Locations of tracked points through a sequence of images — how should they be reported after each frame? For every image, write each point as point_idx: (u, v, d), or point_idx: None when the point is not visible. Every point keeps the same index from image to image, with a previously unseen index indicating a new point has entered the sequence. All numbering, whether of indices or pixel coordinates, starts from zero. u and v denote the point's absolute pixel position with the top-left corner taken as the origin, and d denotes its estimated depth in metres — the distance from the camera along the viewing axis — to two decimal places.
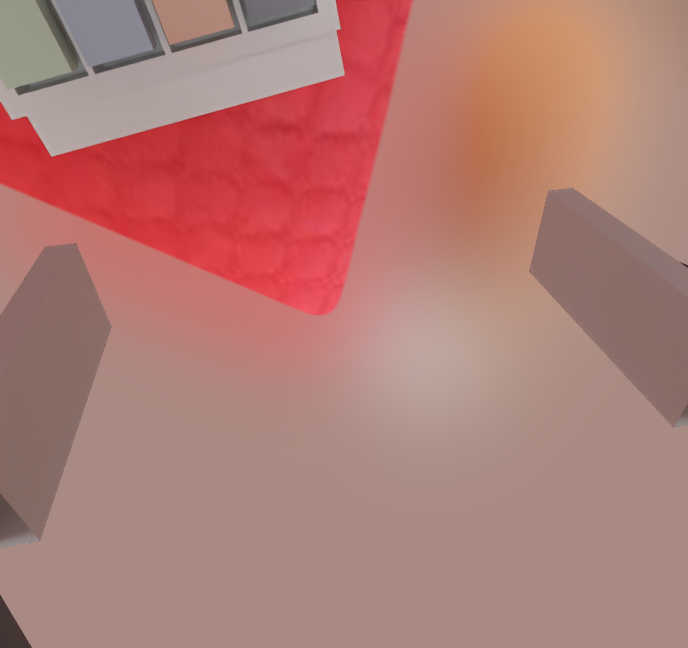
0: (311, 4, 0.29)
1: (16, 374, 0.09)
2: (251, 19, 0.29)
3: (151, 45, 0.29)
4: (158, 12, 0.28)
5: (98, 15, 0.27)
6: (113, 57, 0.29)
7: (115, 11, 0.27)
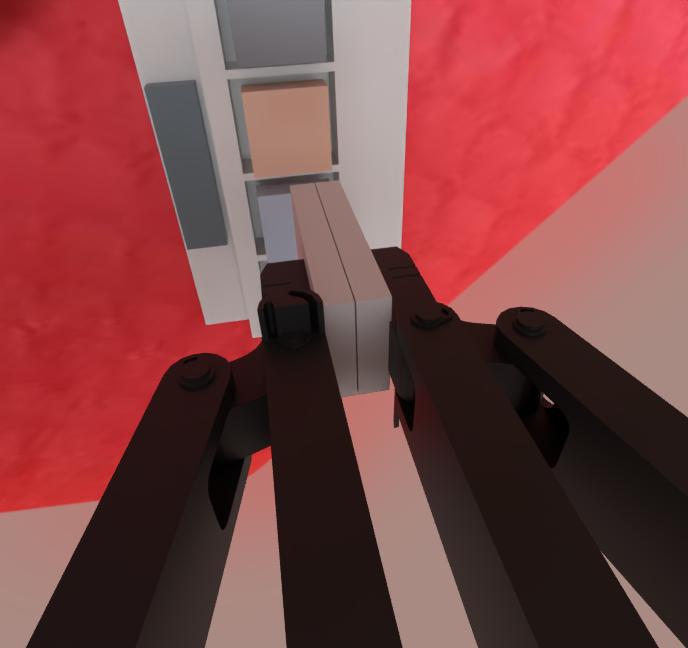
0: None
1: None
2: (323, 59, 0.22)
3: None
4: (300, 172, 0.25)
5: (294, 230, 0.27)
6: None
7: None
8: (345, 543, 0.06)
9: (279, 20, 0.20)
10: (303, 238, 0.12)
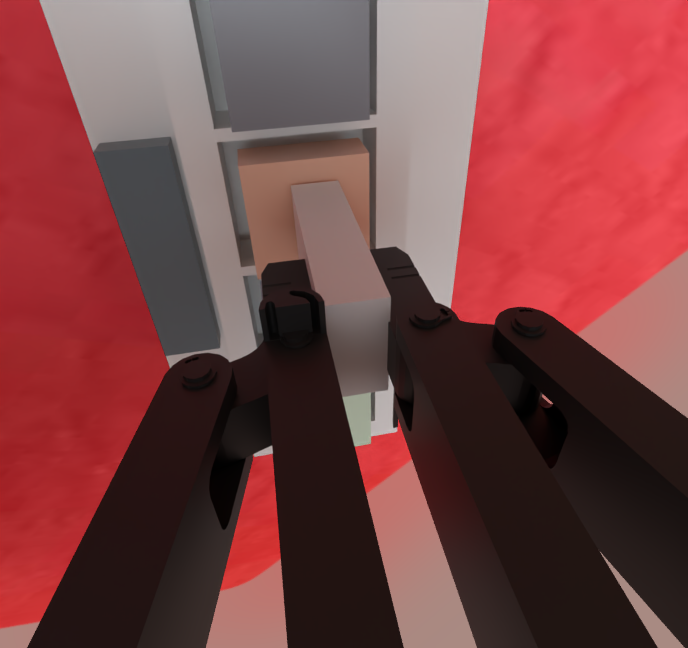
0: None
1: None
2: (364, 116, 0.14)
3: None
4: None
5: None
6: None
7: None
8: (347, 543, 0.06)
9: (298, 59, 0.13)
10: (304, 238, 0.12)
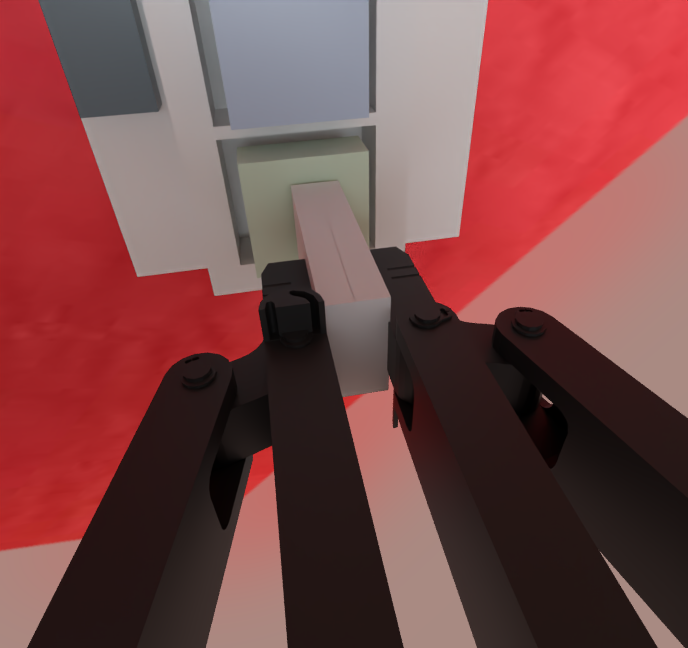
0: None
1: None
2: None
3: None
4: None
5: (285, 51, 0.13)
6: (363, 55, 0.13)
7: (282, 7, 0.12)
8: (348, 543, 0.06)
9: None
10: (304, 238, 0.12)
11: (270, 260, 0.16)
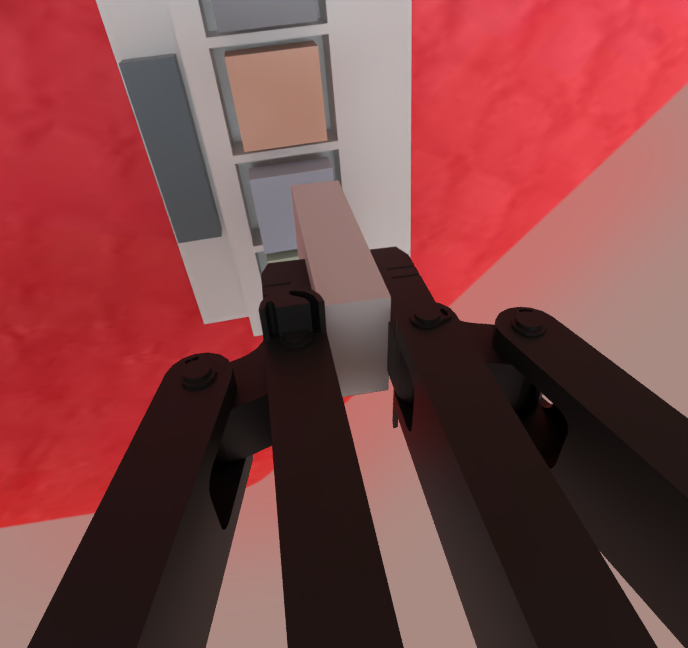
0: None
1: None
2: (314, 17, 0.19)
3: (327, 167, 0.23)
4: (293, 143, 0.23)
5: (292, 216, 0.24)
6: None
7: (290, 198, 0.23)
8: (347, 543, 0.06)
9: None
10: (304, 238, 0.12)
11: None
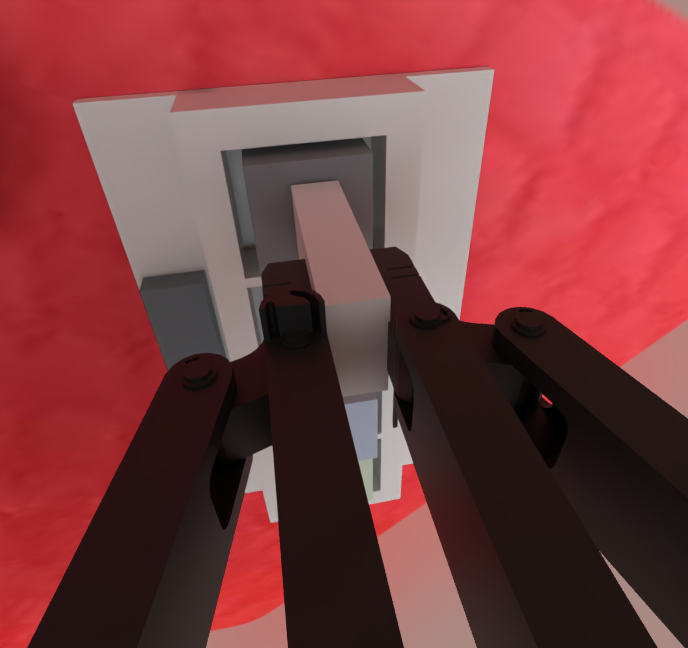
0: (370, 159, 0.15)
1: None
2: None
3: (372, 398, 0.20)
4: None
5: None
6: (374, 436, 0.22)
7: None
8: (347, 543, 0.06)
9: None
10: (304, 238, 0.12)
11: None
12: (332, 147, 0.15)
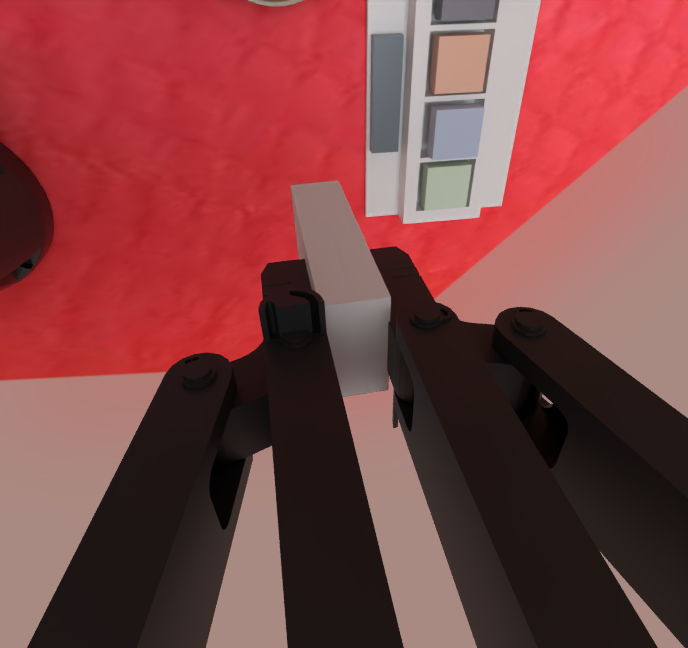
0: None
1: None
2: (491, 17, 0.36)
3: (481, 107, 0.39)
4: (462, 91, 0.39)
5: (454, 136, 0.40)
6: (478, 138, 0.40)
7: (456, 124, 0.39)
8: (347, 543, 0.06)
9: None
10: (304, 238, 0.12)
11: (430, 203, 0.44)
12: None
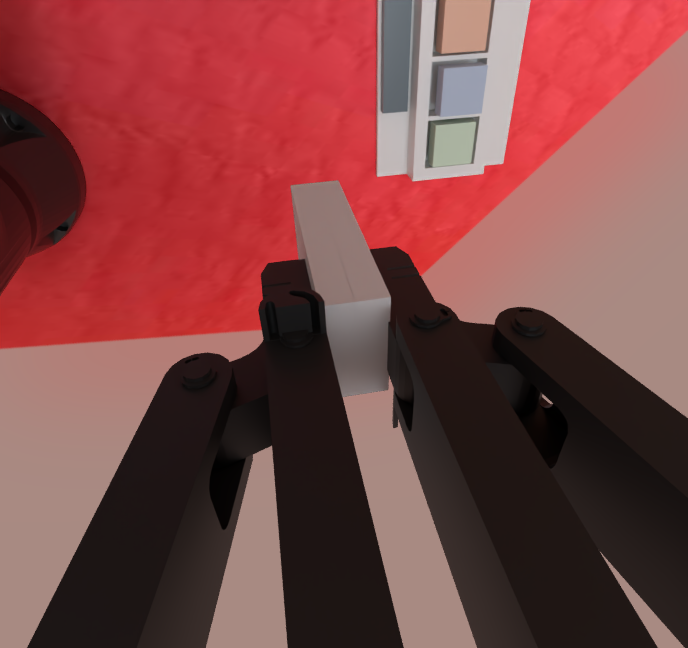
0: None
1: None
2: None
3: (485, 65, 0.42)
4: (467, 50, 0.42)
5: (460, 93, 0.43)
6: (482, 94, 0.44)
7: (462, 81, 0.43)
8: (348, 543, 0.06)
9: None
10: (304, 238, 0.12)
11: (438, 160, 0.48)
12: None
